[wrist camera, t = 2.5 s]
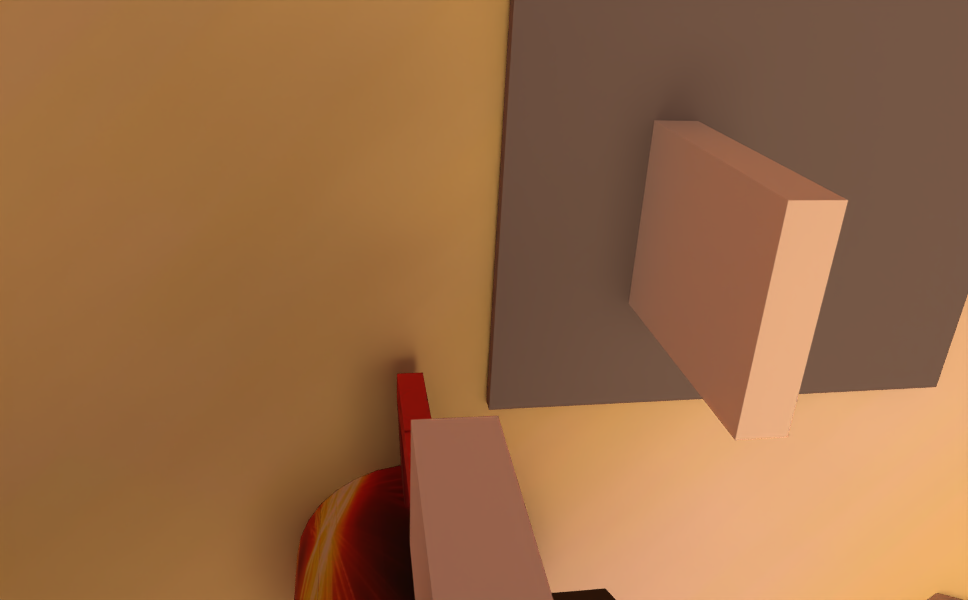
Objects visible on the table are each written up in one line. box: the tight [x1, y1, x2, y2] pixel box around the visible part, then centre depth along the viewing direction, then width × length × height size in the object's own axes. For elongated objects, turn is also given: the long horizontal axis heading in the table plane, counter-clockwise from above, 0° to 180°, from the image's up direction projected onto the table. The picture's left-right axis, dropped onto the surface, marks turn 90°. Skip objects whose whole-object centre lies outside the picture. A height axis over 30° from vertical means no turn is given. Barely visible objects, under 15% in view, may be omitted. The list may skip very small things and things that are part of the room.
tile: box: [629, 120, 848, 440], centre depth 25 cm, size 2×7×9 cm, turn 177°
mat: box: [487, 0, 968, 410], centre depth 29 cm, size 20×16×1 cm
